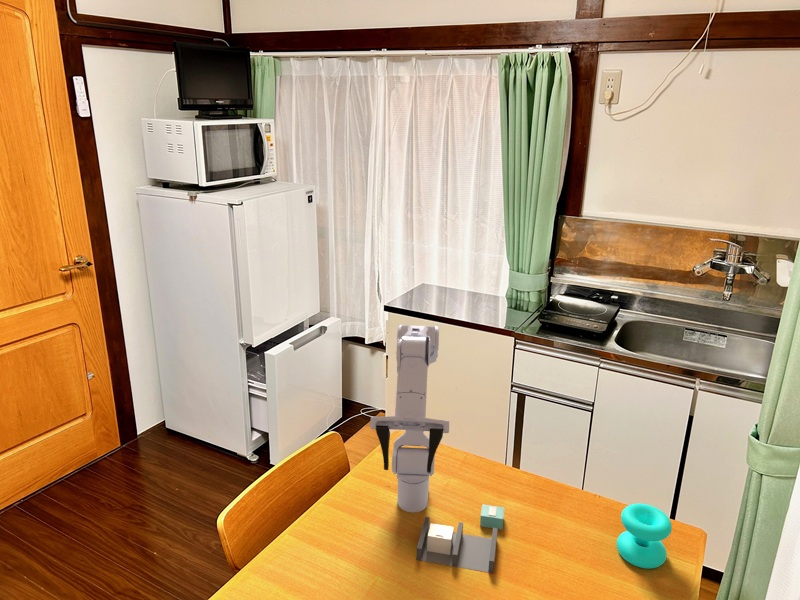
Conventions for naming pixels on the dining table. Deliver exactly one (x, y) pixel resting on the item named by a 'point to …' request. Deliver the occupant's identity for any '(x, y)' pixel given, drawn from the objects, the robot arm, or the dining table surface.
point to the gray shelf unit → (461, 550)
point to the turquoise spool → (644, 535)
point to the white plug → (440, 539)
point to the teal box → (492, 516)
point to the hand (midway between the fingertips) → (407, 470)
